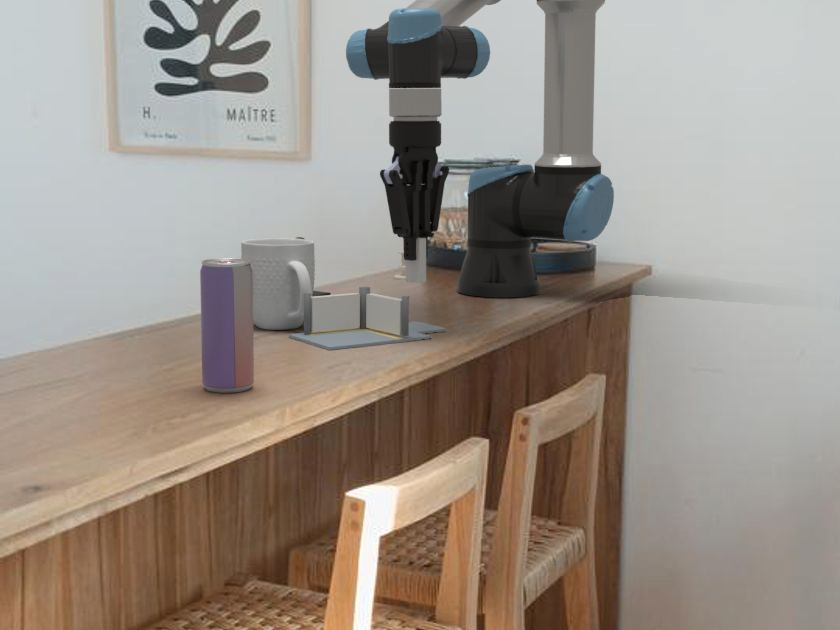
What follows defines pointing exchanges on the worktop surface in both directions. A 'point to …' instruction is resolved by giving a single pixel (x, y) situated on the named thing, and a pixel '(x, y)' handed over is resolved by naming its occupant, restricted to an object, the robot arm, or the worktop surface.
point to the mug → (280, 280)
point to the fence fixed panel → (335, 311)
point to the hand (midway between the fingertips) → (415, 281)
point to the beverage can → (227, 325)
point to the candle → (402, 266)
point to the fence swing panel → (387, 314)
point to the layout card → (364, 336)
